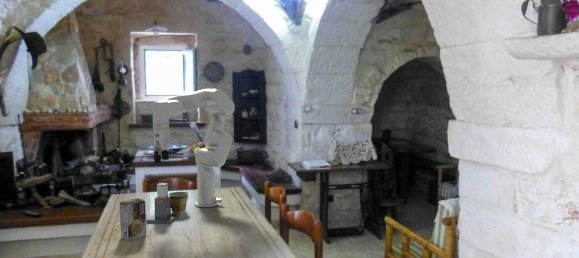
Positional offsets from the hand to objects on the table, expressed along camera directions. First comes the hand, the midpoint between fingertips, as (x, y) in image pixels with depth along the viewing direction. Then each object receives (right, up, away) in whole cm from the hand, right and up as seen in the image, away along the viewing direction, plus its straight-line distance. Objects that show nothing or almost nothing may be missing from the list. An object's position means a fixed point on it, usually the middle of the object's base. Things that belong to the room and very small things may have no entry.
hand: (161, 161), depth 224 cm
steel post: (0, -27, +3) cm, 27 cm away
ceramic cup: (+4, -28, +17) cm, 33 cm away
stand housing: (0, -29, +3) cm, 29 cm away
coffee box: (-6, -32, -22) cm, 39 cm away
